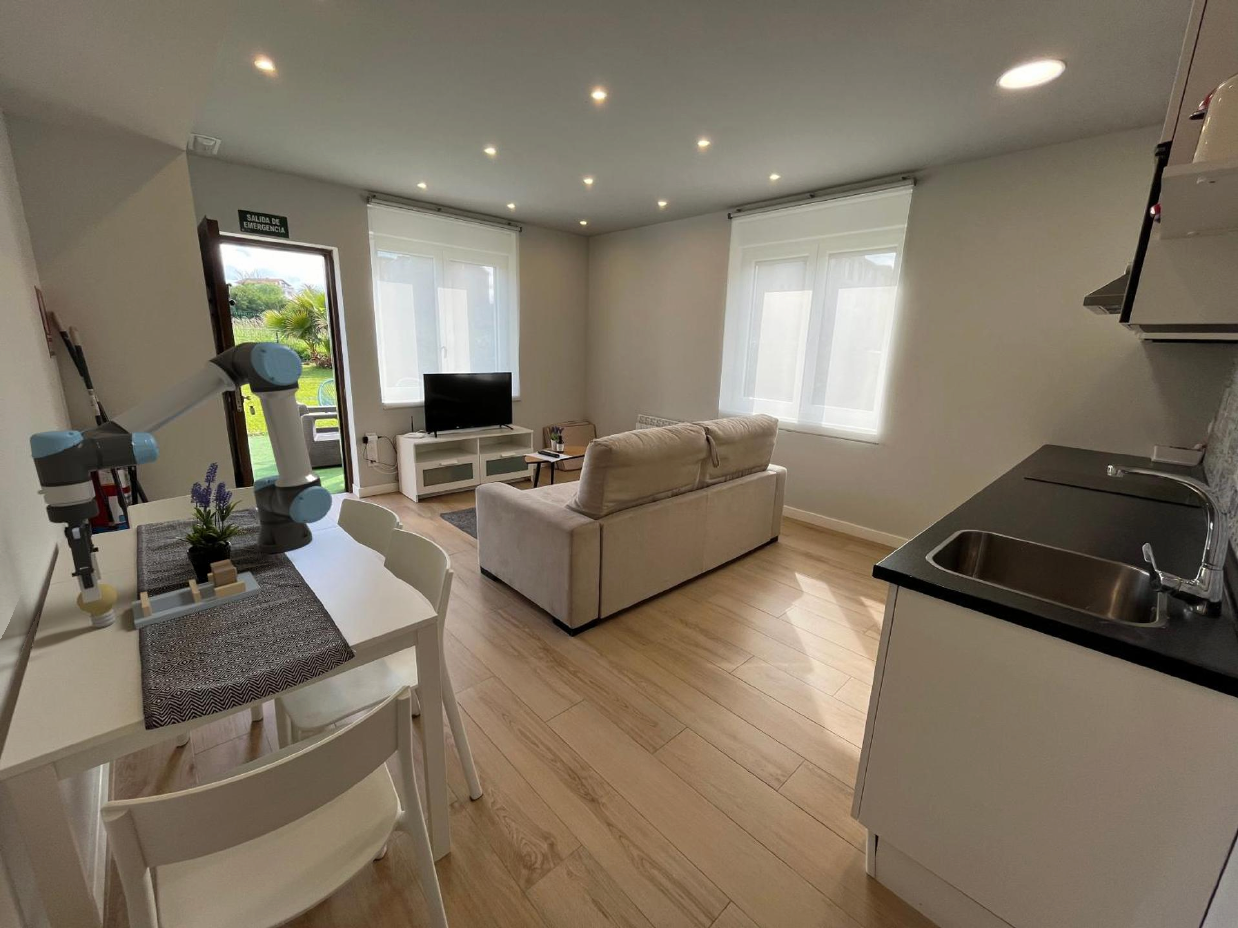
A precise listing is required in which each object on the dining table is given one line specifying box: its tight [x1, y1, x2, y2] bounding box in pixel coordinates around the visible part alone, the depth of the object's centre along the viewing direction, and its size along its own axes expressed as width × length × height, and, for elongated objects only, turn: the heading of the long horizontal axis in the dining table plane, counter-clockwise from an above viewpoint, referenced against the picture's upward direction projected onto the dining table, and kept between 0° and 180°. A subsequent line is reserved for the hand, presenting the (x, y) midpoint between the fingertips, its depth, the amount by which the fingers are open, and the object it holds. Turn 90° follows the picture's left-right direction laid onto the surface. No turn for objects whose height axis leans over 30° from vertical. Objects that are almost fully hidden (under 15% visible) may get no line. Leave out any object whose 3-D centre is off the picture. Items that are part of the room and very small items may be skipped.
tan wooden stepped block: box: [210, 558, 237, 588], centre depth 129 cm, size 8×4×6 cm, turn 46°
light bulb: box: [76, 583, 118, 629], centre depth 114 cm, size 6×6×10 cm
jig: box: [131, 566, 262, 630], centre depth 126 cm, size 14×24×4 cm, turn 136°
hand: (93, 590), depth 113 cm, fingers open, 13 cm apart
